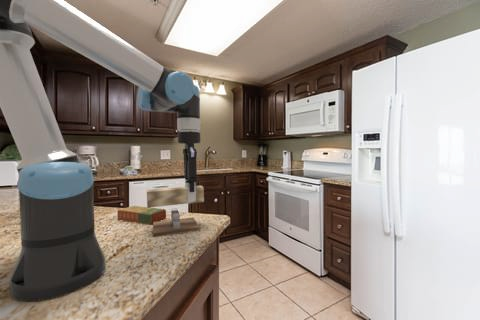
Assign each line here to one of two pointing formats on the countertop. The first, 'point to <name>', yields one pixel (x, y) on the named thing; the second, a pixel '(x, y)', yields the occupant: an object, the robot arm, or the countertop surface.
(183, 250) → the countertop surface
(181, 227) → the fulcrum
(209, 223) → the countertop surface
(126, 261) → the countertop surface
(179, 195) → the beam
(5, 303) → the countertop surface
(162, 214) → the carton
